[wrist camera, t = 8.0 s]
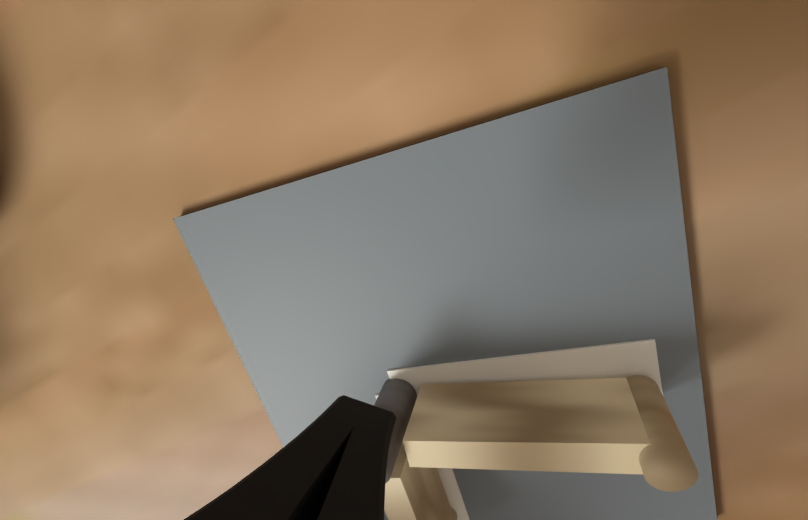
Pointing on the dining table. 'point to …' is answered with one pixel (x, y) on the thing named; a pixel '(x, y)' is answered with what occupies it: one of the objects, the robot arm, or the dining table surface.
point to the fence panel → (551, 429)
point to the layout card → (478, 284)
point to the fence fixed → (408, 486)
